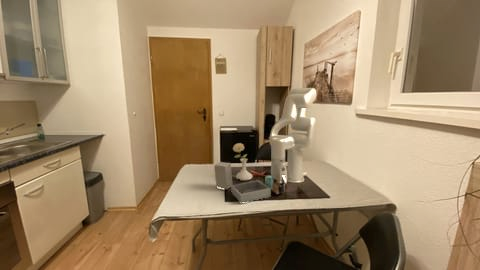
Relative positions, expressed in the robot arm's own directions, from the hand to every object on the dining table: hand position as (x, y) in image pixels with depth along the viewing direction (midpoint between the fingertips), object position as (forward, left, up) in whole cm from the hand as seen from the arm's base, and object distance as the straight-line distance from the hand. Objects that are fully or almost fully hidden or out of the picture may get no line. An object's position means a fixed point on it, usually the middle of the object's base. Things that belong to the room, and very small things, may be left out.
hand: (278, 190), depth 121 cm
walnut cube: (0, 0, -1) cm, 1 cm away
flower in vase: (+9, -30, -2) cm, 31 cm away
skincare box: (+26, -21, -2) cm, 33 cm away
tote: (+16, -5, -2) cm, 16 cm away
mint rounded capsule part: (+1, -9, -2) cm, 9 cm away
